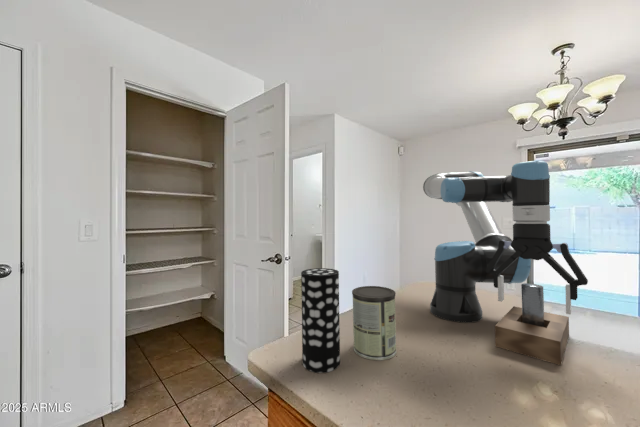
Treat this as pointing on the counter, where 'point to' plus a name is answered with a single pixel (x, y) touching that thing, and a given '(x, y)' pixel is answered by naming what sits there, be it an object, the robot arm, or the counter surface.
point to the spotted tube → (320, 319)
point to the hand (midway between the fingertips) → (532, 306)
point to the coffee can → (374, 322)
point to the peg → (532, 304)
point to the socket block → (533, 336)
